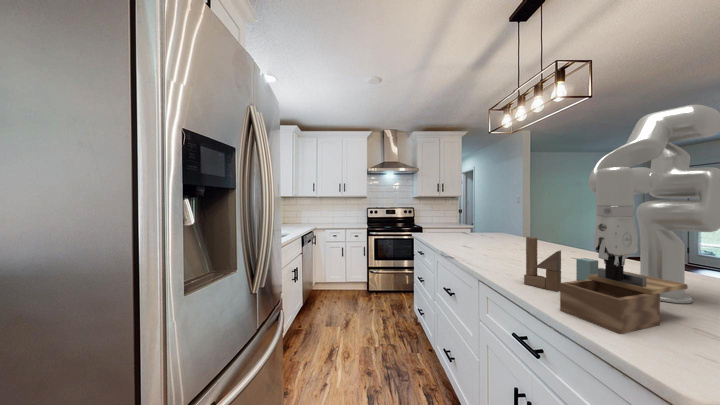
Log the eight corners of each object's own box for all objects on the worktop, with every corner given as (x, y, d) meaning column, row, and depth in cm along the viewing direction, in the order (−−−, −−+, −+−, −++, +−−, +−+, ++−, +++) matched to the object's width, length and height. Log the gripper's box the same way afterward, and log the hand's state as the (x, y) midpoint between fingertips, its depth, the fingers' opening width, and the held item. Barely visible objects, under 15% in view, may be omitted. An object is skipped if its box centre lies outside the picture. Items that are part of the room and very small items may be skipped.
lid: (621, 274, 83) (621, 263, 83) (686, 288, 70) (687, 275, 70) (588, 278, 79) (588, 266, 79) (651, 294, 65) (651, 280, 65)
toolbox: (596, 304, 80) (596, 278, 80) (659, 325, 66) (659, 293, 66) (560, 310, 76) (560, 282, 75) (620, 333, 62) (620, 300, 62)
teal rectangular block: (598, 296, 86) (598, 260, 86) (589, 298, 85) (589, 261, 85) (584, 292, 90) (584, 258, 90) (576, 294, 89) (576, 258, 89)
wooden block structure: (557, 292, 91) (557, 240, 90) (523, 284, 99) (523, 236, 99) (561, 290, 93) (561, 239, 93) (528, 282, 101) (528, 236, 101)
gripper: (612, 213, 66) (612, 286, 66) (650, 212, 70) (650, 280, 70) (579, 212, 73) (579, 277, 73) (615, 211, 77) (615, 273, 78)
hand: (614, 279), depth 72 cm, fingers closed
